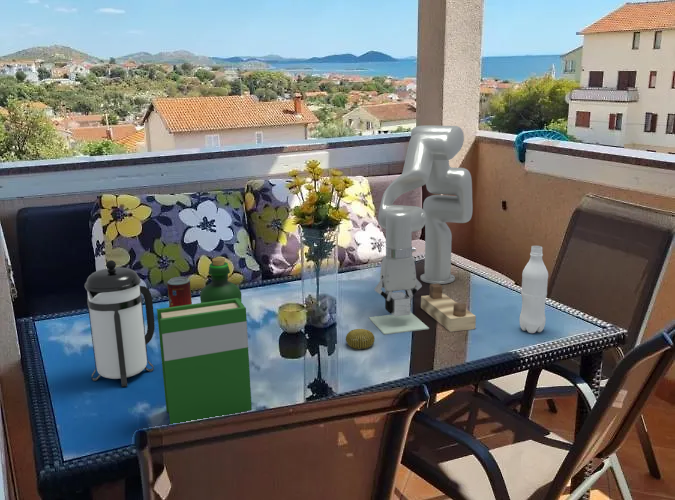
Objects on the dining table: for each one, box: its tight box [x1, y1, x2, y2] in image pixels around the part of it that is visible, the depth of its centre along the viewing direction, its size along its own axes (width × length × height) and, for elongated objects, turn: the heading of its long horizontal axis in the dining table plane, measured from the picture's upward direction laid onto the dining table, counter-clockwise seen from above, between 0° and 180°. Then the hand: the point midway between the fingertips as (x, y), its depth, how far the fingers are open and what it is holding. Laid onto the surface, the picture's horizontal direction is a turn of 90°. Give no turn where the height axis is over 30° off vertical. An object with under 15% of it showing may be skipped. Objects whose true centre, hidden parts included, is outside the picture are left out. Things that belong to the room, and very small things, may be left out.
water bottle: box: [519, 245, 549, 334], centre depth 178 cm, size 7×7×25 cm
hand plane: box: [420, 283, 477, 333], centre depth 192 cm, size 22×8×8 cm, turn 15°
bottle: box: [199, 257, 242, 303], centre depth 160 cm, size 11×11×28 cm
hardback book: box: [156, 298, 253, 424], centre depth 136 cm, size 18×7×24 cm, turn 112°
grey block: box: [390, 291, 412, 316], centre depth 187 cm, size 7×5×5 cm
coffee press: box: [84, 260, 156, 388], centre depth 155 cm, size 17×16×30 cm
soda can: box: [166, 276, 193, 307], centre depth 197 cm, size 7×7×12 cm
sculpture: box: [345, 328, 375, 350], centre depth 173 cm, size 8×4×8 cm
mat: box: [368, 311, 430, 335], centre depth 189 cm, size 14×14×1 cm
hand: (398, 310), depth 188 cm, fingers closed on grey block, 5 cm apart
